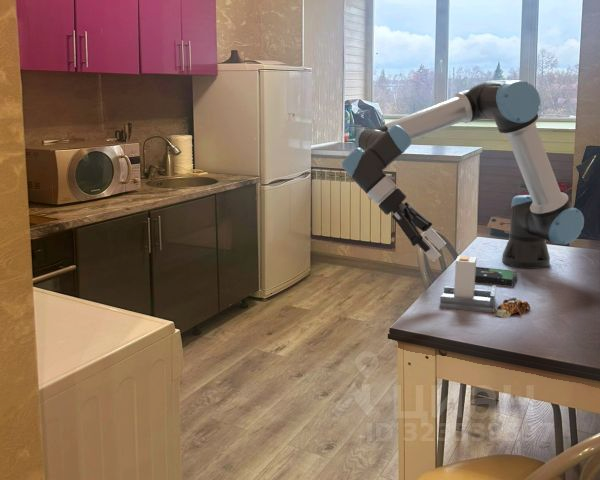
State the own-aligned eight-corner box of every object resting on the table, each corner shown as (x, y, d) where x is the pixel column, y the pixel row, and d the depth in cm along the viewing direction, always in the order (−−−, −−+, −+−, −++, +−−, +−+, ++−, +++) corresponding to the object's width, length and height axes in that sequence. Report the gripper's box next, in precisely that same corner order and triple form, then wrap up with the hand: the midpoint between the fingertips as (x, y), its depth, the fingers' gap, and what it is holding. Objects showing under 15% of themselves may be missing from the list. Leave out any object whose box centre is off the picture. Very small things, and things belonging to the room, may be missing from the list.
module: (474, 294, 182) (476, 255, 180) (472, 301, 177) (474, 261, 174) (456, 293, 184) (458, 254, 181) (453, 299, 178) (455, 259, 176)
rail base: (495, 298, 184) (496, 284, 183) (493, 312, 173) (494, 297, 172) (444, 293, 188) (445, 280, 187) (439, 307, 177) (440, 292, 176)
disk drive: (462, 283, 201) (512, 288, 195) (462, 274, 200) (513, 279, 194) (468, 274, 210) (516, 278, 204) (468, 265, 209) (517, 270, 203)
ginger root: (488, 316, 171) (489, 303, 170) (508, 304, 180) (509, 292, 179) (513, 322, 167) (514, 309, 166) (532, 310, 176) (533, 297, 175)
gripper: (386, 197, 193) (435, 250, 192) (367, 213, 170) (423, 273, 169) (404, 180, 190) (454, 233, 189) (388, 194, 167) (445, 255, 166)
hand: (440, 252), depth 179 cm, fingers open, 13 cm apart
